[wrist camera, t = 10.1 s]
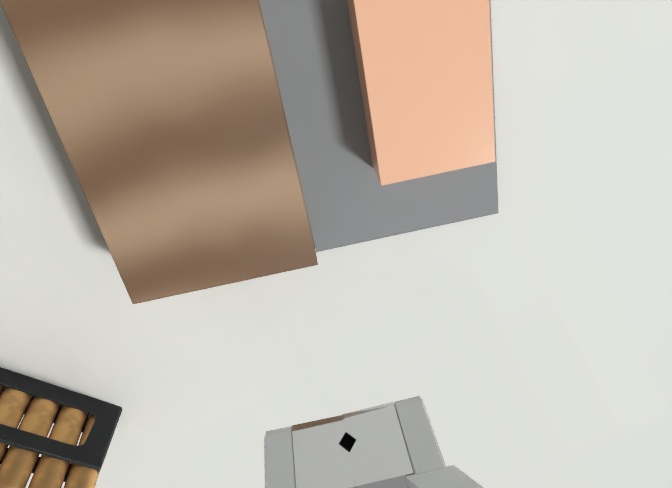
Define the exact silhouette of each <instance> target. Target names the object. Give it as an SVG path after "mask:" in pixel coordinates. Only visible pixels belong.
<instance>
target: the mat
mask: <svg viewBox="0 0 672 488" xmlns="http://www.w3.org/2000/svg"><path fill="white" fill-rule="evenodd" d="M259 1H260V5H261V10H262V14H263V19H264V23H265V27H266V32H267V36H268V41H269V45H270V49H271V54H272V58H273V63H274V67H275V72H276V76H277V80H278V85H279V89H280V94H281V98H282V102H283V107H284V111H285V116H286V120H287V125H288V129H289V133H290V138H291V142H292V147H293V151H294V155H295V160H296V164H297V169H298V173H299V178H300V182H301V186H302V191H303V195H304V200H305V204H306V208H307V213H308V217H309V222H310V226H311V231H312V235H313V239H314V244H315V248H316V252H318V251H323V250H328V249H332V248H337V247H342V246H346V245H351V244H356V243H360V242H365V241H370V240H374V239H379V238H384V237H389V236H393V235H398V234H403V233H407V232H412V231H417V230H421V229H426V228H431V227H435V226H440V225H445V224H449V223H454V222H459V221H463V220H468V219H473V218H477V217H482V216H487V215H491V214H496V213H498V193H497V166H496V139H495V112H494V86H493V59H492V32H491V6H490V32H491V59H492V86H493V113H494V140H495V162H491V163H486V164H482V165H477V166H472V167H467V168H463V169H458V170H453V171H449V172H444V173H439V174H434V175H430V176H425V177H420V178H415V179H411V180H406V181H401V182H396V183H392V184H387V185H382V186H381V184H380V182H379V180H378V178H377V176H376V174H375V171H374V169H373V166H372V159H371V153H370V146H369V140H368V133H367V127H366V120H365V113H364V107H363V100H362V94H361V87H360V81H359V74H358V68H357V61H356V55H355V48H354V42H353V35H352V29H351V22H350V16H349V9H348V3H347V0H259ZM489 5H490V0H489Z"/></svg>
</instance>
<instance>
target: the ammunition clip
mask: <svg viewBox="0 0 672 488" xmlns="http://www.w3.org/2000/svg"><path fill="white" fill-rule="evenodd" d="M121 412H122V407H119V406H116V405H113V404H110V403H107V402H104V401H101V400H98V399H95V398H92V397H89V396H86V395H83V394H80V393H77V392H74V391H71V390H67V389H64V388H61V387H58V386H55V385H52V384H49V383H46V382H43V381H40V380H37V379H34V378H31V377H28V376H25V375H22V374H19V373H16V372H13V371H10V370H7V369H4V368H1V367H0V464H1V465H0V488H25V486H26V484H27V482H28V480H29V477H30V475H31V473H34V475H33V477H32V479H31V482H30V484H29V487H28V488H61V486H62V483H63V482H66V483H65V486H64V488H95V485H96V481H97V478H98V475H99V471H100V470H101V467H102V464H103V461H104V459H105V456H106V453H107V450H108V448H109V445H110V442H111V439H112V437H113V434H114V431H115V428H116V426H117V423H118V420H119V417H120V415H121ZM24 414H25V415H24ZM23 415H24V417H23ZM22 417H23V420H22V422H21V424H20V426H19V428H18V429H17V427H18V425H19V423H20V421H21V419H22ZM53 423H54V426H53V428H52V431H51V433H50V436H49V438H47V435H48V433H49V431H50V428H51V426H52V424H53ZM81 432H82V433H83V434H82V437H81V439H80V442H79V445H78V446H76V445H77V443H78V440H79V437H80V434H81ZM8 445H10V447H9V448H7V447H8ZM39 454H42V455H41V457H38V456H39ZM70 463H71V464H70Z"/></svg>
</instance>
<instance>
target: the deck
mask: <svg viewBox="0 0 672 488" xmlns="http://www.w3.org/2000/svg"><path fill="white" fill-rule="evenodd" d="M0 3H1V5H2V7H3V9H4V12H5V14H6V16H7V18H8V21H9V23H10V25H11V28H12V30H13V32H14V34H15V37H16V39H17V41H18V44H19V46H20V48H21V50H22V53H23V55H24V57H25V59H26V62H27V64H28V66H29V69H30V71H31V73H32V75H33V78H34V80H35V82H36V85H37V87H38V89H39V91H40V94H41V96H42V98H43V100H44V103H45V105H46V107H47V110H48V112H49V114H50V116H51V119H52V121H53V123H54V125H55V128H56V130H57V132H58V135H59V137H60V139H61V141H62V144H63V146H64V148H65V151H66V153H67V155H68V157H69V160H70V162H71V164H72V166H73V169H74V171H75V173H76V176H77V178H78V180H79V182H80V185H81V187H82V189H83V192H84V194H85V196H86V198H87V201H88V203H89V205H90V207H91V210H92V212H93V214H94V217H95V219H96V221H97V223H98V226H99V228H100V230H101V233H102V235H103V237H104V239H105V242H106V244H107V246H108V248H109V251H110V253H111V255H112V258H113V260H114V262H115V264H116V267H117V269H118V271H119V273H120V276H121V278H122V280H123V283H124V285H125V287H126V289H127V292H128V294H129V296H130V299H131V301H132V303H133V304H136V303H141V302H146V301H151V300H155V299H160V298H165V297H169V296H174V295H179V294H183V293H188V292H193V291H197V290H202V289H207V288H211V287H216V286H221V285H225V284H230V283H235V282H239V281H244V280H249V279H253V278H258V277H263V276H267V275H272V274H277V273H281V272H286V271H291V270H295V269H300V268H305V267H309V266H314V265H318V263H317V257H316V252H315V246H314V240H313V235H312V231H311V226H310V222H309V217H308V213H307V208H306V204H305V200H304V195H303V191H302V186H301V182H300V178H299V173H298V169H297V164H296V160H295V155H294V151H293V147H292V142H291V138H290V133H289V129H288V125H287V120H286V116H285V111H284V107H283V102H282V98H281V94H280V89H279V85H278V80H277V76H276V72H275V67H274V63H273V58H272V54H271V49H270V45H269V41H268V36H267V32H266V27H265V23H264V19H263V14H262V10H261V5H260V1H259V0H0Z"/></svg>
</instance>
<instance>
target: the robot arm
mask: <svg viewBox="0 0 672 488" xmlns="http://www.w3.org/2000/svg"><path fill="white" fill-rule="evenodd" d="M264 455H265V488H483V487H482V486H481V485H479V484H478V483H477V482H475V481H474V480H473V479H472V478H470V477H469V476H468V475H466V474H465V473H464V472H462V471H461V470H460V469H458V468H457V467H456V466H454V465H452V466H447V467H446V466H445V463H444V460H443V457H442V454H441V452H440V449H439V446H438V443H437V440H436V437H435V434H434V432H433V429H432V426H431V423H430V420H429V417H428V415H427V412H426V409H425V406H424V403H423V400H422V399H421V398H420V397H419V396H417V397H413V398H409V399H405V400H400V401H396V402H394V403H393V402H391V403H387V404H383V405H379V406H375V407H371V408H367V409H363V410H359V411H355V412H351V413H347V414H343V415H341V416H336V417H331V418H326V419H322V420H317V421H312V422H307V423H302V424H298V425H293V426H290V427H285V428H280V429H276V430H271V431H266V434H265V438H264Z"/></svg>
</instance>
